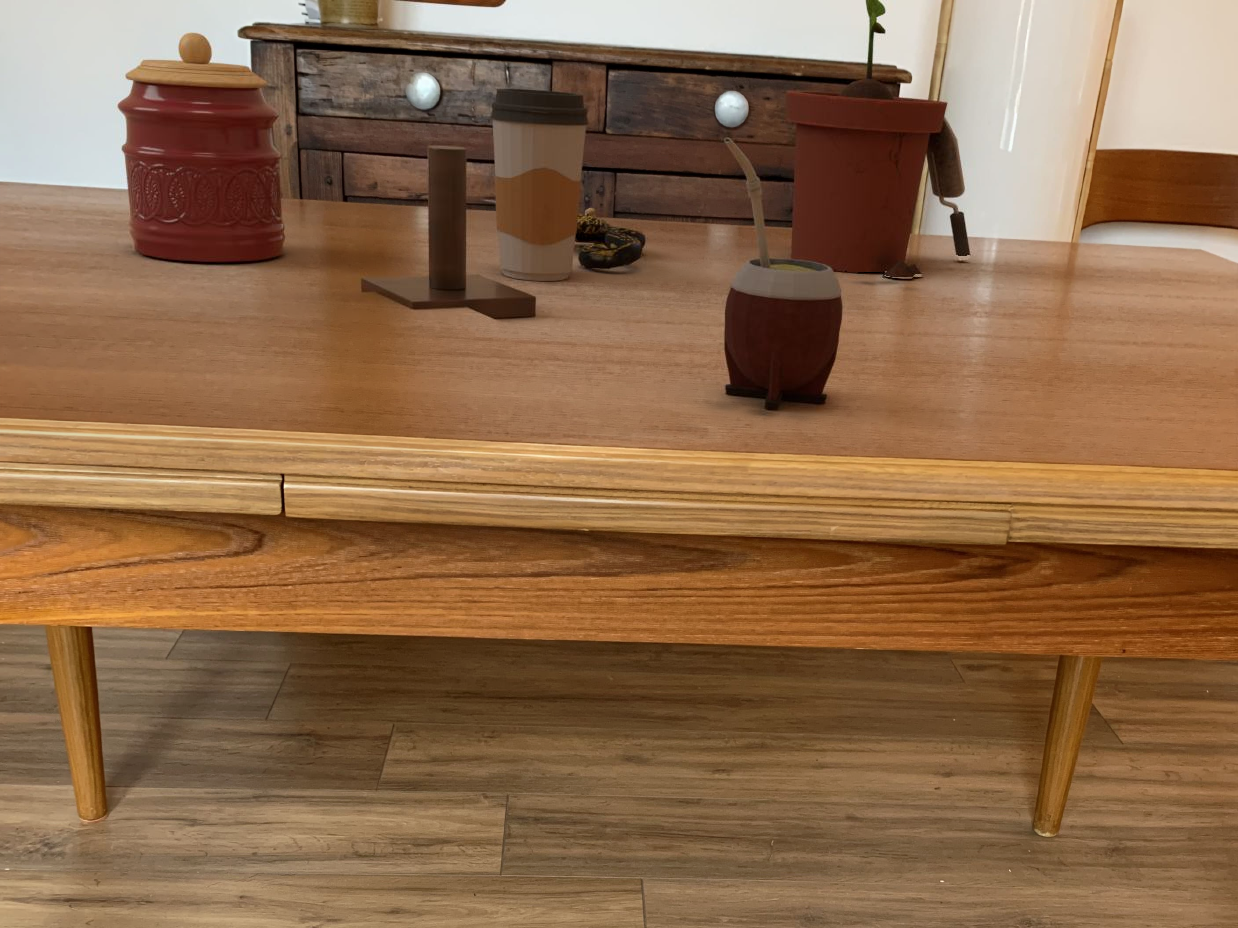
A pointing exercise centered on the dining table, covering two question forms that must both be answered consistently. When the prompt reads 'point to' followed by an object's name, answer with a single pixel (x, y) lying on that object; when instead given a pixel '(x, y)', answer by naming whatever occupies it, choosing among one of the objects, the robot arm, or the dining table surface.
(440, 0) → the ring
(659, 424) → the dining table surface
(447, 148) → the wooden peg stand
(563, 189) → the coffee cup
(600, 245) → the rubber snake
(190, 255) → the kitchen canister
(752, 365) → the mate gourd
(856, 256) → the potted plant
